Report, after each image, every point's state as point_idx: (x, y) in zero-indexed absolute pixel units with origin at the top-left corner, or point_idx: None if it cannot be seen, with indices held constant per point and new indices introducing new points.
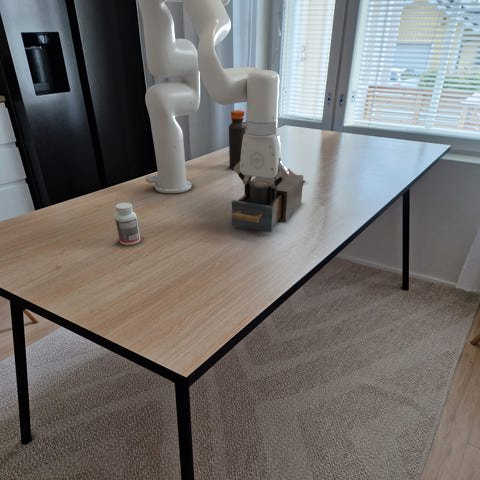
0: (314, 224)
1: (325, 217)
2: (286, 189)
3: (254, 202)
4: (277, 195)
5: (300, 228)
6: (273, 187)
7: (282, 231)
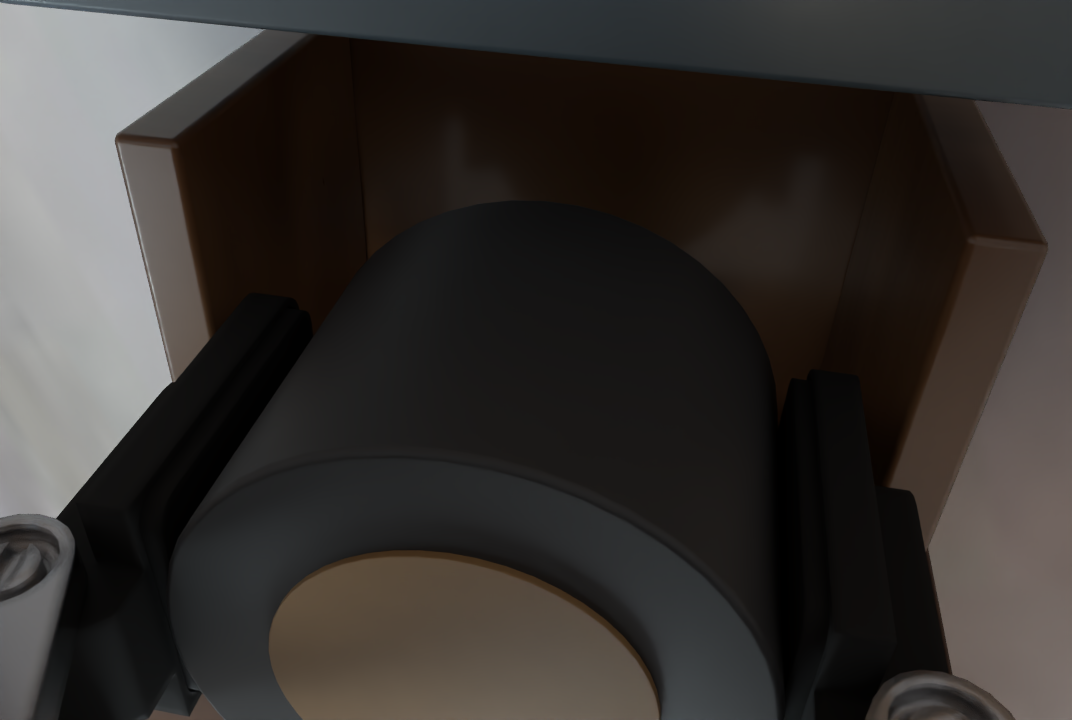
0: (9, 333)
1: (20, 502)
2: (168, 714)
3: (595, 224)
4: None
5: (73, 191)
6: (41, 544)
7: (216, 28)
